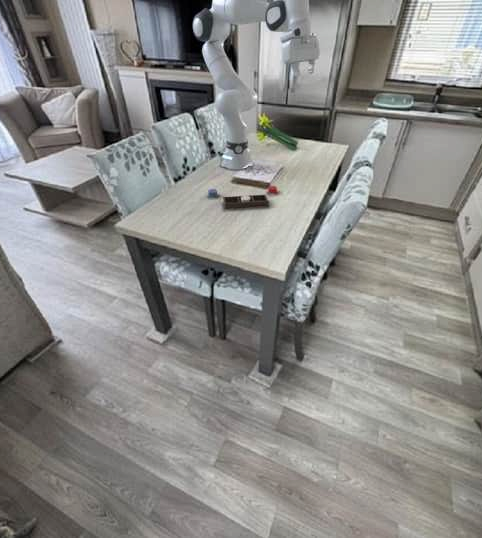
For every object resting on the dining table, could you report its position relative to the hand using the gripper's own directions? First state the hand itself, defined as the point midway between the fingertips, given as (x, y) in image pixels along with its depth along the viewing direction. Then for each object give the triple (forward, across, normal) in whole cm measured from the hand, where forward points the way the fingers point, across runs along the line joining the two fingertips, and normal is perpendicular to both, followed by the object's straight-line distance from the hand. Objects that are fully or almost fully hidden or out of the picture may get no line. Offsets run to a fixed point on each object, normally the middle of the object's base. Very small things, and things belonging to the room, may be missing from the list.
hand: (304, 74), depth 123 cm
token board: (+45, +34, -15) cm, 58 cm away
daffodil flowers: (+32, -45, -63) cm, 84 cm away
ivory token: (+44, +34, -14) cm, 58 cm away
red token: (+45, +15, -15) cm, 50 cm away
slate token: (+40, +39, -31) cm, 64 cm away
